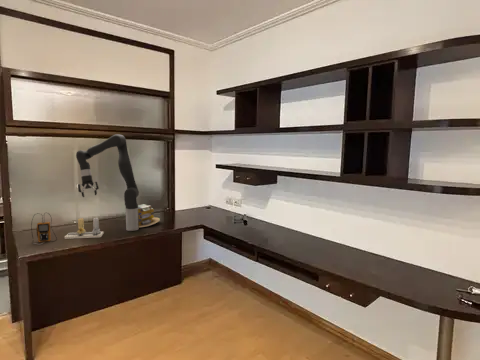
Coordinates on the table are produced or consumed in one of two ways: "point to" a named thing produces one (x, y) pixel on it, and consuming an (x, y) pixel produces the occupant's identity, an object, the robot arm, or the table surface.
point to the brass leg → (81, 226)
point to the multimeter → (43, 231)
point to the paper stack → (146, 215)
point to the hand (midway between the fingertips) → (89, 196)
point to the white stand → (92, 234)
